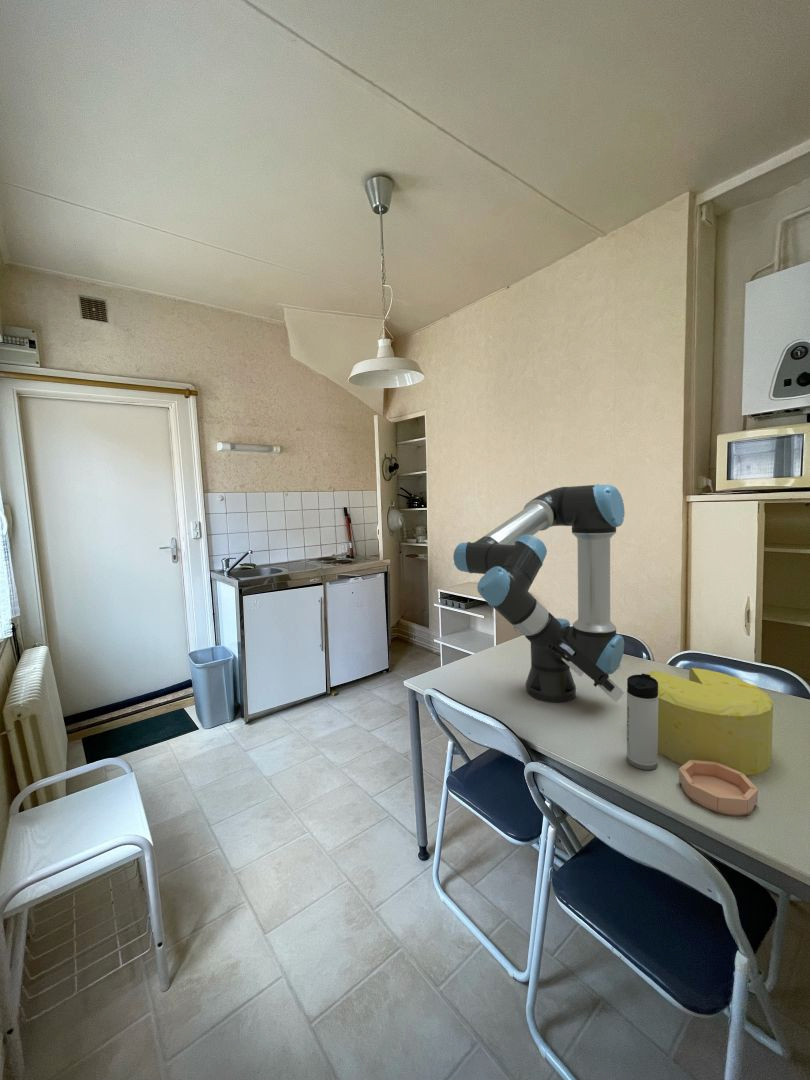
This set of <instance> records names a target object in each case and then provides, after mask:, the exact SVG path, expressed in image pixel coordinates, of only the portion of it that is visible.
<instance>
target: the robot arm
mask: <svg viewBox="0 0 810 1080" xmlns="http://www.w3.org/2000/svg"><path fill="white" fill-rule="evenodd" d="M624 521H625V505H624V499H623V497H622V494H621V492H620V491H619V489H618V488H617V487H615V486H614V485H611V484H599V483H598V484H593V485H592V484H591V485H577V486H576V485H575V486H573V485H572V486H561V487H556V488H554V489H550V490H548V491H546V492H543V493H542V494H540V495H538V496H536V497H534V498H533V499H531V500H529V501H528V502H527V503H526V504H525V505H524V506H523V509H522V510H520V511H519V512H518V513H516V514H514V515H513V516H512V517H510V518H509V519H507V520H506V521H505V522H503V523H502V524H500V525H498V526H497V527H496V528H495V527H494V529H493V530H491V531H489V532H488V533H487V534H485V535H483V536H482V537H481V538H479V539H478V540H476V541H474V542H470V541H467V542H461V543H459V544H458V545H457V546H456V547H455V549H454V551H453V556H452V557H453V563H454V566H455V568H456V569H457V570H459V571H460V572H464V573H469V574H480V575H483V576H481V578H480V579H479V581H478V584H477V585H476V586H477V593H478V594H479V595H480V596H481V597H482V599H483V600H484V601H485V602H486V603H487V604H488V605H489V606H490V607H492V608H493V609H494V610H495V611H496V612H497V613H498V614H500V615H501V617H503V618H504V619H505V620H506V621H508V623H510V624H511V625H512V626H513V627H512V629H513V631H514V632H520V634H522V635H523V636H524V637H525V638H526V639H527V640H528V642H530V664H531V666H530V669H529V672H528V675H527V678H526V681H525V691H526V693H527V694H528V695H529V696H531V697H532V698H534V699H536V700H537V699H538V700H539V701H540V700H541V701H543V702H548V703H549V702H550V703H564V702H565V703H566V702H569V701H571V700H573V699H574V698H576V697H577V696H576V695H577V688H576V684H575V681H574V680H575V679H573V678H574V677H573V675H572V672H571V669H572V671H574V673H576V674H577V675H578V676H579V677H582V676H583V674H585V675H586V676H588V678H590V679H591V680H592V681H593V686H594V687H595V688H596V687H597V686H598V687H599V688H600V689H601V691H603V692H604V693H605V694H606V695H607V696H608V697H609V698H610V699H612V701H613V702H615V703H617V702H618V701H619V700H620V699H621V698H622V696H623V695H624V694H625V691H624V690H622V689H621V688H620V687H619V686H618V685H617V683H615V682H614V681H613V680H612V679H611V678H610V675H612V674H613V673H615V672H616V671H617V670H618V668H619V666H620V664H621V662H622V659H623V657H624V656H623V655H624V649H625V641H624V637H623V636H622V635H620V634H617V626H616V625H615V624H614V623H613V622H612V621H611V539H612V537H613V536H614V535H615V534H617V528H618V527H621V526H622V525H623V523H624ZM561 526H562V527H564V526H565V527H571V534H572V535H573V536H574V537H576V539H577V614H578V615H577V619H576V620H575V621H574V622H573V623H572V626H571V622H570V621H569V620H568V619H566V618H560V617H557V618H556V617H555V616H554V615H553V614H551V613H550V612H549V610H548V609H547V608H545V606H543V604H542V603H540V601H538V599H536V598H535V597H534V596H533V595H532V594H531V593H530V592H529V590H530V588H531V586H532V585H533V582H534V580H535V579H536V576H537V575H538V573H539V571H540V569H541V568H542V566H543V565H544V564H543V563H544V561H545V558H546V556H547V554H548V553H547V552H548V550H547V546H546V544H545V542H543V541H542V540H541V539H540V538H539V537H537V536H534V535H535V534H537V533H538V532H539V531H540V532H541V531H545V530H547V529H549V528H553V527H561Z"/></svg>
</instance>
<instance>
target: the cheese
mask: <svg viewBox="0 0 810 1080" xmlns="http://www.w3.org/2000/svg"><path fill="white" fill-rule="evenodd" d="M688 670H689V672H688V679H686V678H683V677H680V676H676V675H672V674H668V673H666V672H662V671H659V670H650V671H649V672H647V674H648V675H650V677H652V678H654V679H656V680H657V682H658V754H661V755H662V756H664V757H666V758H668V759H670V760H671V761H673V762H674V763H675V762H676V763H678V764H679V765H682V766H683V765H684V764H685V763H687V762H688V761H689V760H697V761H710V762H717V763H720V764H722V765H724V766H727V767H729V768H732V769H734V770H736V771H739V772H741V773H743V774H744V775H745V776H746V777H747V776H755V775H759V774H761V773H763V772H765V771H767V770H768V769H769V767H770V766H771V762H772V750H773V748H772V747H773V724H774V723H773V721H774V720H773V719H774V703H773V701H772V699H771V697H770V696H769V694H767V693H766V692H765V691H763V690H762V689H760V688H759V687H757V686H756V685H754V684H752V683H749V682H747V681H744V680H743V679H741V678H738V677H735V676H732V675H730V674H725V673H723V672H718V671H715V670H714V671H713V670H709V669H703V668H698V667H697V668H696V667H689V669H688Z"/></svg>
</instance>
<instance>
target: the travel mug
mask: <svg viewBox="0 0 810 1080" xmlns="http://www.w3.org/2000/svg"><path fill="white" fill-rule="evenodd" d="M626 681H627V682H626V686H627V687H626V760H627V762H628V763H629V764H630V765H631V766H633V767H635V768H638V769H640V770H643V771H652V770H655V769H657V767H658V763H659V762H658V761H659V759H658V758H659V757H658V756H659V755H658V754H659V752H658V682H657V680H656V679H654V678H652V677H650V675H648V673H643V672H642V673H641V674H632V675H629V676H628V677H627V679H626Z"/></svg>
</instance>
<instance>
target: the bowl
mask: <svg viewBox="0 0 810 1080" xmlns="http://www.w3.org/2000/svg"><path fill="white" fill-rule="evenodd" d="M678 781H679V782H680V784H681V788H682V790H683V793H685V795H686V796H687V797H688V798H690V800H691V801H693V802H695V803H696V804H697V805H699V806H701V807H703V808H705V809H707V810H710V811H712V812H715V813H717V814H723V815H726V816H727V815H728V816H732V817H733V816H736V817H738V816H739V817H741V816H747V815H749V814H751V813H752V812H753V811H754V810H755V807H756V806H755V805H757V803H758V798H759V797H758V796H759V794H758V793H759V789H758V788H757V786H756V785H754V783H753V782H752V781H751V780H750V779H749V778H748V777H747V776H745V775H744V774H743V773H741V772H739V771H736V770H734V769H732V768H729V767H727V766H724V765H722V764H720V763H717V762H710V761H697V760H689V761H688V762H687V763H685V764H684V765H683V764H682V765H681V766H680V767H679V768H678Z"/></svg>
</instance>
